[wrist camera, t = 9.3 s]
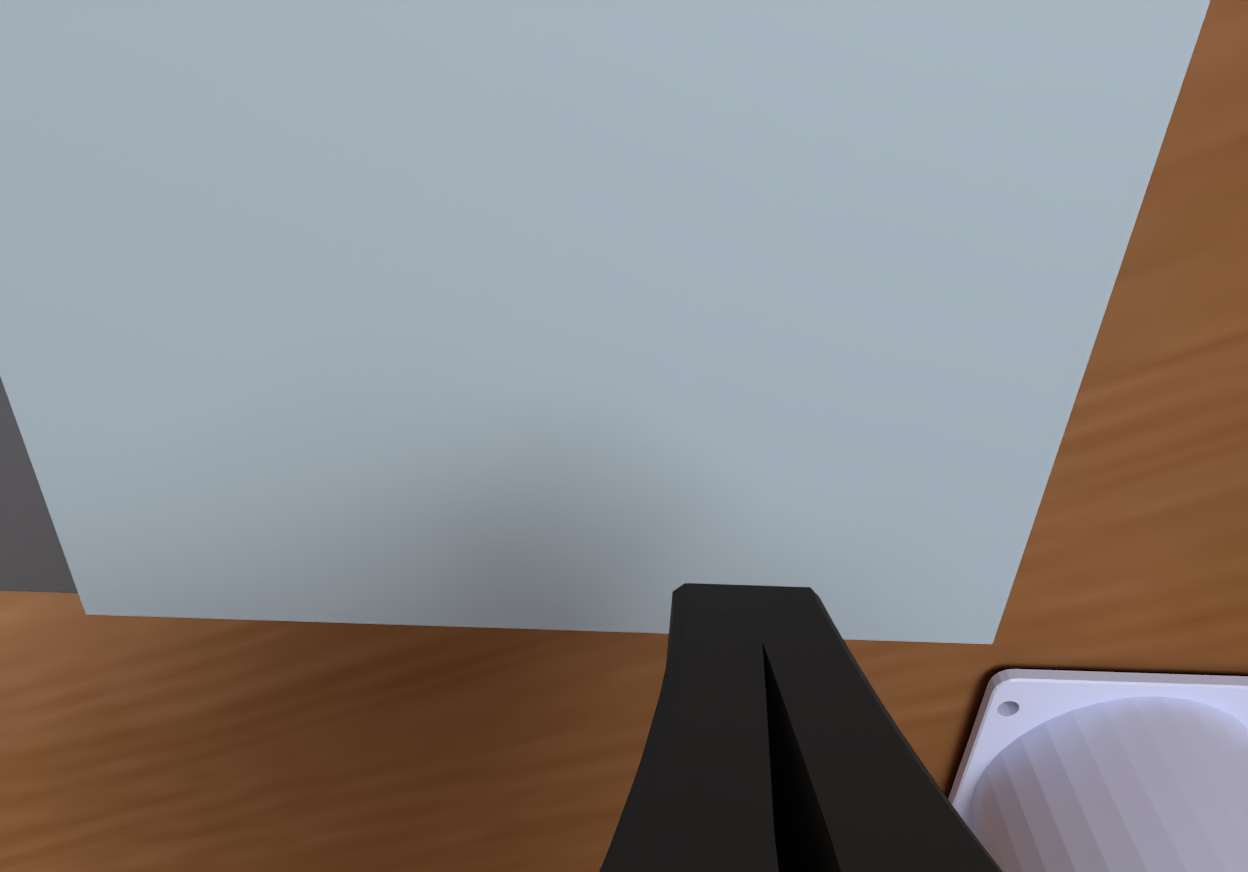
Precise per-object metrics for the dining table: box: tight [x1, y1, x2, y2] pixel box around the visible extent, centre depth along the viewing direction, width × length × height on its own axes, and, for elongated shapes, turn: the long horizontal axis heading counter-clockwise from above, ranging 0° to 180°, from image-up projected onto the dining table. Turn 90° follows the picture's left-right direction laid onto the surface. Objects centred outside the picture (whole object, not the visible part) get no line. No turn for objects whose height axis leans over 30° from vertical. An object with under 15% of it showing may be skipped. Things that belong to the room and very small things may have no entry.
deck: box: [0, 0, 1210, 644], centre depth 17 cm, size 12×17×4 cm
